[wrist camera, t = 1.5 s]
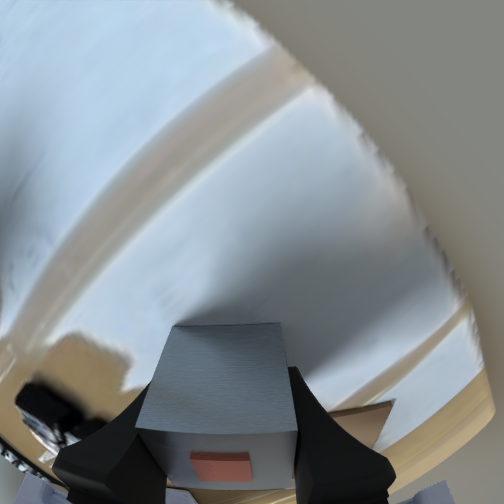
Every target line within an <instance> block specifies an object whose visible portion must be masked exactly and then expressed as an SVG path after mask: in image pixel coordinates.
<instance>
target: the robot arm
mask: <svg viewBox="0 0 504 504" xmlns="http://www.w3.org/2000/svg"><path fill="white" fill-rule="evenodd" d="M287 368H288V373H289V379H290V385H291V391H292V397H293V404H294V410H295V416H296V422H297V428H298V433H297V442H296V450H295V457H294V465H293V466H294V476H295V487H296V500H297V504H389V503H388V500H387V498H388V497H389V494H388V491H387V489H388V488H389V487H390V486H391V485H392V483H393V482H394V481H395V479H396V474H395V471H394V469H393V467H392V465H391V463H390V462H389V460H388V459H387V458H386V457H384V456H382V455H381V454H379V453H377V452H375V451H373V450H372V449H370V448H369V447H367V446H366V445H364V444H363V443H361V442H360V441H358V440H357V439H356V438H354V437H353V436H352V435H351V434H349V433H348V432H347V431H346V430H344V429H343V428H342V427H341V426H340V425H339V424H338V423H337V422H336V421H335V420H334V419H333V418H332V417H331V416H330V415H329V414H328V413H327V412H326V410H325V409H324V408H323V407H322V406H321V404H320V403H319V402H318V400H317V399H316V398H315V396H314V395H313V394H312V392H311V391H310V389H309V388H308V386H307V385H306V383H305V381H304V380H303V378H302V376H301V374H300V372H299V370H298V368H297V367H296V366H294V367H287ZM151 381H152V380H151ZM151 381H150V383H151ZM150 383H149V384H148V385H147V386H146V387H145V389H144V390H143V391H142V392H141V393H140V394H139V395H138V397H137V398H136V399H135V400H134V401H133V402H132V403H131V404H130V405H129V406H128V407H127V408H126V409H125V410H124V411H123V412H122V413H121V414H120V415H118V416H117V417H116V418H115V419H114V420H112V421H111V422H110V423H109V424H107V425H106V426H104V427H103V428H101V429H100V430H98V431H97V432H95V433H94V434H92V435H90V436H88V437H87V438H85V439H83V440H81V441H79V442H77V443H74V444H72V445H69V446H67V447H64V448H62V449H60V451H59V453H58V455H57V457H56V459H55V462H54V464H53V466H52V471H53V473H54V474H55V475H56V476H57V477H58V478H59V479H60V480H61V481H63V482H64V483H65V484H66V485H67V486H68V487H70V490H69V493H68V495H67V494H65V493H62V492H60V491H58V490H56V489H54V488H53V487H52V486H50V484H48V483H47V482H45V481H44V480H42V479H40V478H38V477H36V476H34V475H32V474H30V473H27V474H26V476H25V478H24V480H23V482H22V484H21V487H20V489H19V491H18V493H17V496H16V498H15V501H14V503H13V504H198V503H197V502H196V500H195V499H194V498H193V496H192V495H191V493H190V492H189V491H186V490H179V489H171V488H166V483H167V476H166V474H165V473H164V472H163V470H162V469H161V467H160V466H159V464H158V463H157V461H156V460H155V459H154V457H153V455H152V454H151V452H150V451H149V449H148V448H147V446H146V445H145V443H144V441H143V440H142V438H141V436H140V435H139V433H138V431H137V430H136V428H135V426H136V423H137V420H138V417H139V414H140V411H141V408H142V405H143V403H144V400H145V397H146V394H147V392H148V389H149V386H150ZM397 504H455V502H454V499H453V497H452V495H451V492H450V490H449V488H448V486H447V483H446V481H445V480H443V481H441V482H438V483H436V484H434V485H432V486H429V487H427V488H425V489H423V490H421V491H419V492H418V493H417V494H415V496H414V497H413V498H411V499H408V500H405V501H402V502H400V503H397Z"/></svg>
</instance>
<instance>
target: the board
mask: <svg viewBox="0 0 504 504" xmlns="http://www.w3.org/2000/svg"><path fill="white" fill-rule="evenodd" d="M392 406H393V405H392V403H391V401H389V402H385V403H381V404H376V405H372V406H367V407H363V408H358V409H352V410H347V411H341V412H335V413H329V415H330V416H331V417H332V418H333V419H334V420H335V421H336V422H337V423H338V424H339V425H340V426H341V427H342V428H343V429H344V430H346V431H347V432H348V433H349V434H351V435H352V436H353V437H354V438H356V439H357V440H358V441H360V442H361V443H363V444H364V445H366V446H367V447H369V448H370V449H372V448H373V446H374V444H375V442H376V440H377V438H378V436H379V434H380V432H381V430H382V428H383V426H384V424H385V422H386V419H387V417H388V415H389V413H390V411H391V408H392ZM280 489H285V490H287V489H296V487H295V476H294V466H293V472H292V479H291V485H290V488H280ZM264 490H276V489H264ZM228 491H257V490H228Z"/></svg>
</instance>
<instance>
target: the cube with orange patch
mask: <svg viewBox="0 0 504 504" xmlns="http://www.w3.org/2000/svg"><path fill="white" fill-rule="evenodd" d="M135 428H136V430H137V431H138V433H139V435H140V436H141V438H142V440H143V441H144V443H145V445H146V446H147V448H148V449H149V451H150V452H151V454H152V455H153V457H154V459H155V460H156V461H157V463H158V464H159V466H160V467H161V469H162V470H163V472H164V473H165V474H166V476H167V477H168V479H169V480H170V481H171V483H172V484H173V485H174V486H177V487H186V488H197V489H212V490H264V489H280V488H290V485H291V479H292V472H293V465H294V457H295V450H296V442H297V433H298V428H297V422H296V416H295V410H294V404H293V397H292V391H291V385H290V379H289V373H288V368H287V362H286V356H285V350H284V344H283V339H282V333H281V327H280V323H269V324H251V325H227V326H172V329H171V331H170V334H169V336H168V339H167V341H166V344H165V346H164V349H163V352H162V354H161V357H160V359H159V362H158V365H157V367H156V370H155V373H154V375H153V378H152V381H151V383H150V386H149V389H148V392H147V394H146V397H145V400H144V403H143V405H142V408H141V411H140V414H139V417H138V420H137V423H136V426H135Z"/></svg>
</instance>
